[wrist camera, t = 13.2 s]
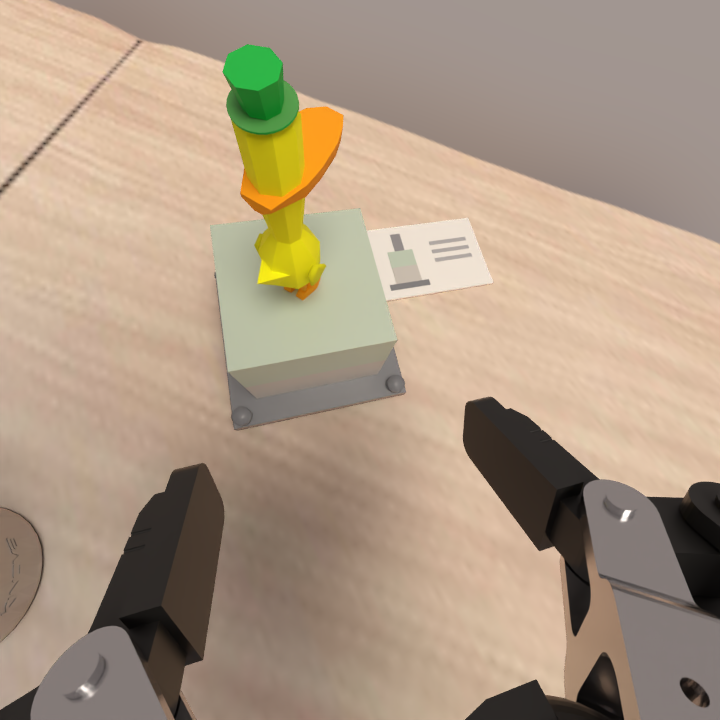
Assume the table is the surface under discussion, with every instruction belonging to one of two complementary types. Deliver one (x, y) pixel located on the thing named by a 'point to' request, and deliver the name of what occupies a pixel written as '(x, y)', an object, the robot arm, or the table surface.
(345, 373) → the cube on base plate
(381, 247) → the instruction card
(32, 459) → the table surface
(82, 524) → the table surface
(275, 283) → the toy figure
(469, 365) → the table surface
